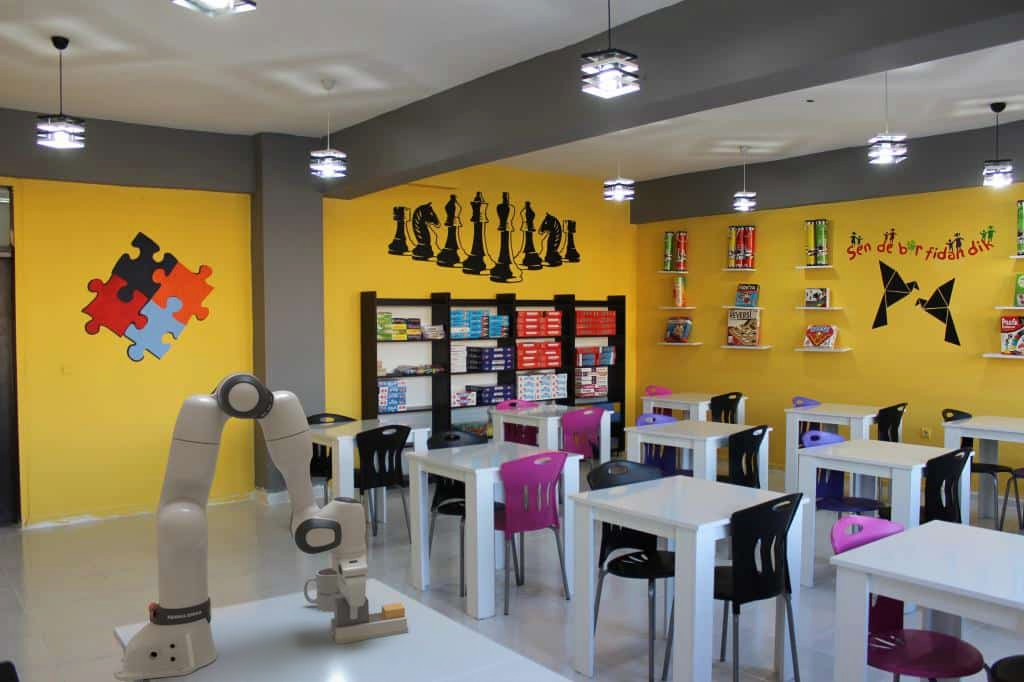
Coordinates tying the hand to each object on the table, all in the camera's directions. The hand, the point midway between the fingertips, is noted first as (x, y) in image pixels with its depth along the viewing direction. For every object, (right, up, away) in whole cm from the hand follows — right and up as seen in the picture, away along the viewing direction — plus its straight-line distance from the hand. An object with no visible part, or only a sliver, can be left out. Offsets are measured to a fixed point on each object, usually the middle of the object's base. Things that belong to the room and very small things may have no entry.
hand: (351, 614), depth 208 cm
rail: (+4, -5, +2) cm, 7 cm away
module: (0, -2, 0) cm, 2 cm away
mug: (-12, -6, +23) cm, 27 cm away
